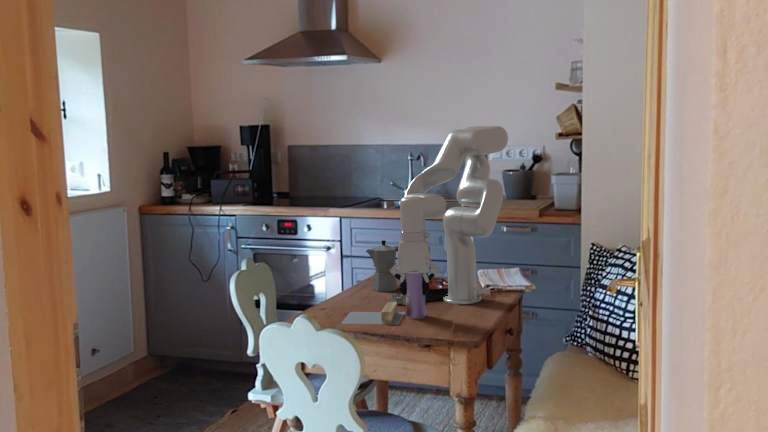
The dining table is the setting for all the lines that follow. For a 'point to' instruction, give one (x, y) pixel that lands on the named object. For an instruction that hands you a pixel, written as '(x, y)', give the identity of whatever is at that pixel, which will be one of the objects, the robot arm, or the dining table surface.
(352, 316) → the mat
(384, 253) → the coffeepot
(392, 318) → the block
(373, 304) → the dining table surface
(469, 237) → the robot arm
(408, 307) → the beverage can
